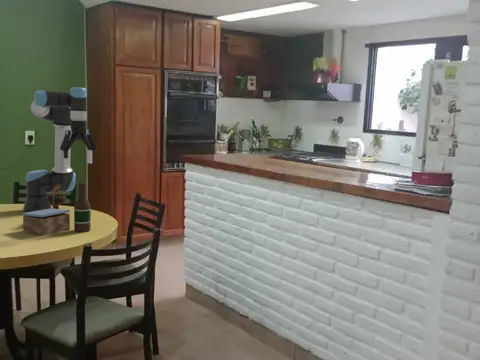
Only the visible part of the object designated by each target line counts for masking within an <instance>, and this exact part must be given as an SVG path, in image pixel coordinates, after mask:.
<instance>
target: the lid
mask: <svg viewBox="0 0 480 360" xmlns="http://www.w3.org/2000/svg"><path fill="white" fill-rule="evenodd" d="M52 208H53V207H51V209H45V210H39V211H33V212H23V213H22V216H23V215H26V216H35V217H45V216H51V215H56V214H62V213H66V214H68V213H70V211H71V210H70V209H62V208H59V209H52Z"/></svg>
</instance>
